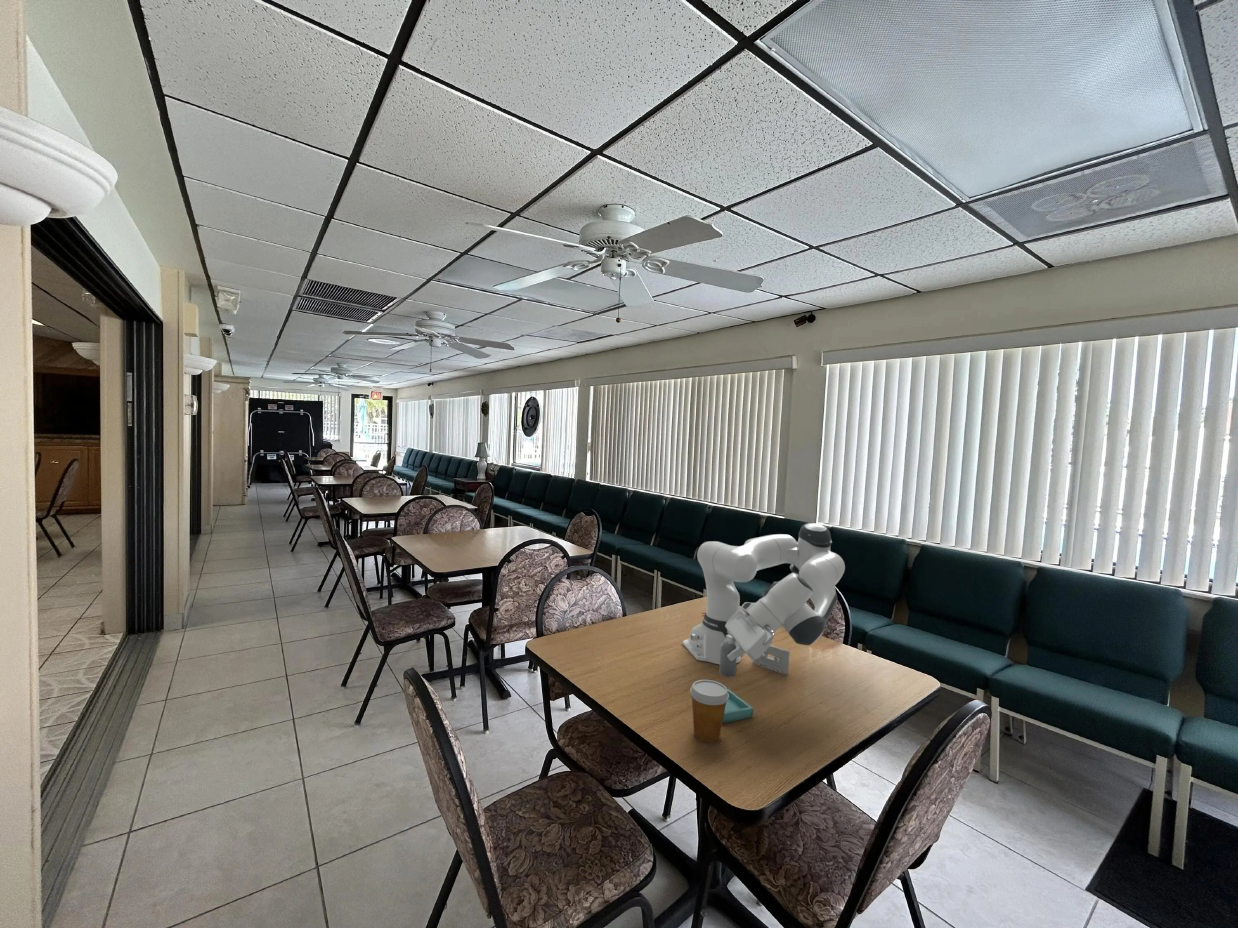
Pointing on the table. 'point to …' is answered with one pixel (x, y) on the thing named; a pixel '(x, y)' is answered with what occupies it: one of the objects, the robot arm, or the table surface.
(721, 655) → the gray bottle
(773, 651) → the cassette
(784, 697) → the table surface
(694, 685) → the disposable coffee cup
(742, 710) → the tray
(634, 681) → the table surface
